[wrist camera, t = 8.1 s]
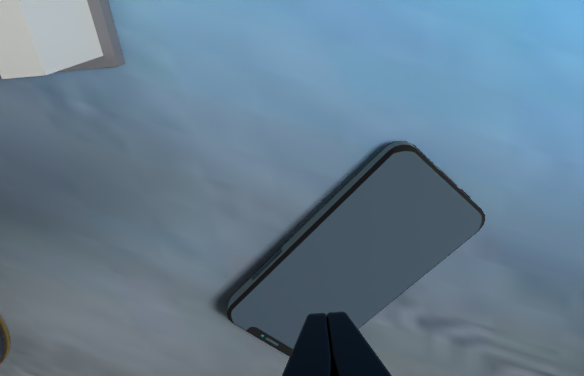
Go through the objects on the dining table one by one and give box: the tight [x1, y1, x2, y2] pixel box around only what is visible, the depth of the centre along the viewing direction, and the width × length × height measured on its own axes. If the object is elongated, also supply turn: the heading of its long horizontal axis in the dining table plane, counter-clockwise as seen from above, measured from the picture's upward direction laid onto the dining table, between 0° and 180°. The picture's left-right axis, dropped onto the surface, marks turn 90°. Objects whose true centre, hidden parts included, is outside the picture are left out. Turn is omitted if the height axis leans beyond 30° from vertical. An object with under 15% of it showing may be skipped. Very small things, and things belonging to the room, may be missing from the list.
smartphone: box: [227, 141, 485, 356], centre depth 23 cm, size 8×2×15 cm
